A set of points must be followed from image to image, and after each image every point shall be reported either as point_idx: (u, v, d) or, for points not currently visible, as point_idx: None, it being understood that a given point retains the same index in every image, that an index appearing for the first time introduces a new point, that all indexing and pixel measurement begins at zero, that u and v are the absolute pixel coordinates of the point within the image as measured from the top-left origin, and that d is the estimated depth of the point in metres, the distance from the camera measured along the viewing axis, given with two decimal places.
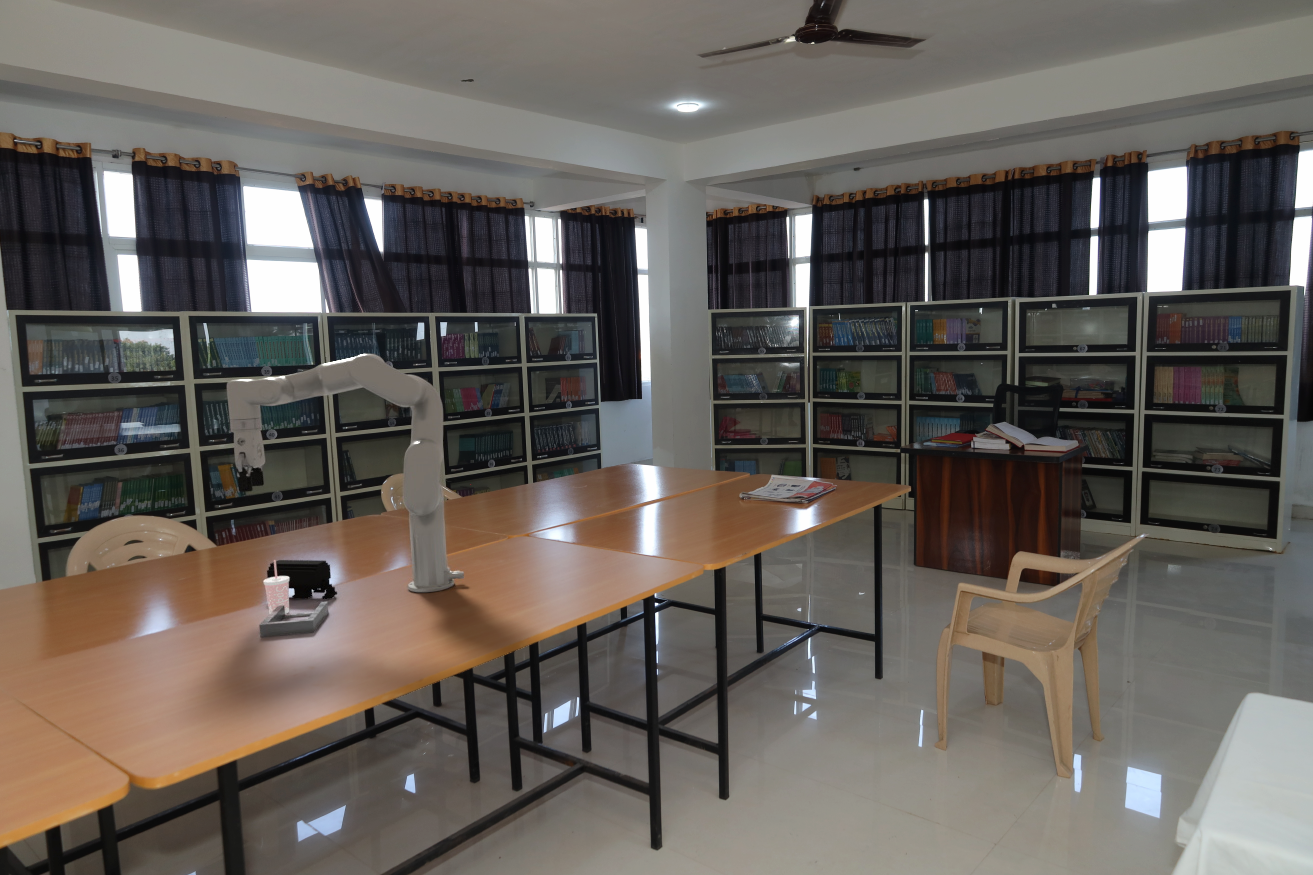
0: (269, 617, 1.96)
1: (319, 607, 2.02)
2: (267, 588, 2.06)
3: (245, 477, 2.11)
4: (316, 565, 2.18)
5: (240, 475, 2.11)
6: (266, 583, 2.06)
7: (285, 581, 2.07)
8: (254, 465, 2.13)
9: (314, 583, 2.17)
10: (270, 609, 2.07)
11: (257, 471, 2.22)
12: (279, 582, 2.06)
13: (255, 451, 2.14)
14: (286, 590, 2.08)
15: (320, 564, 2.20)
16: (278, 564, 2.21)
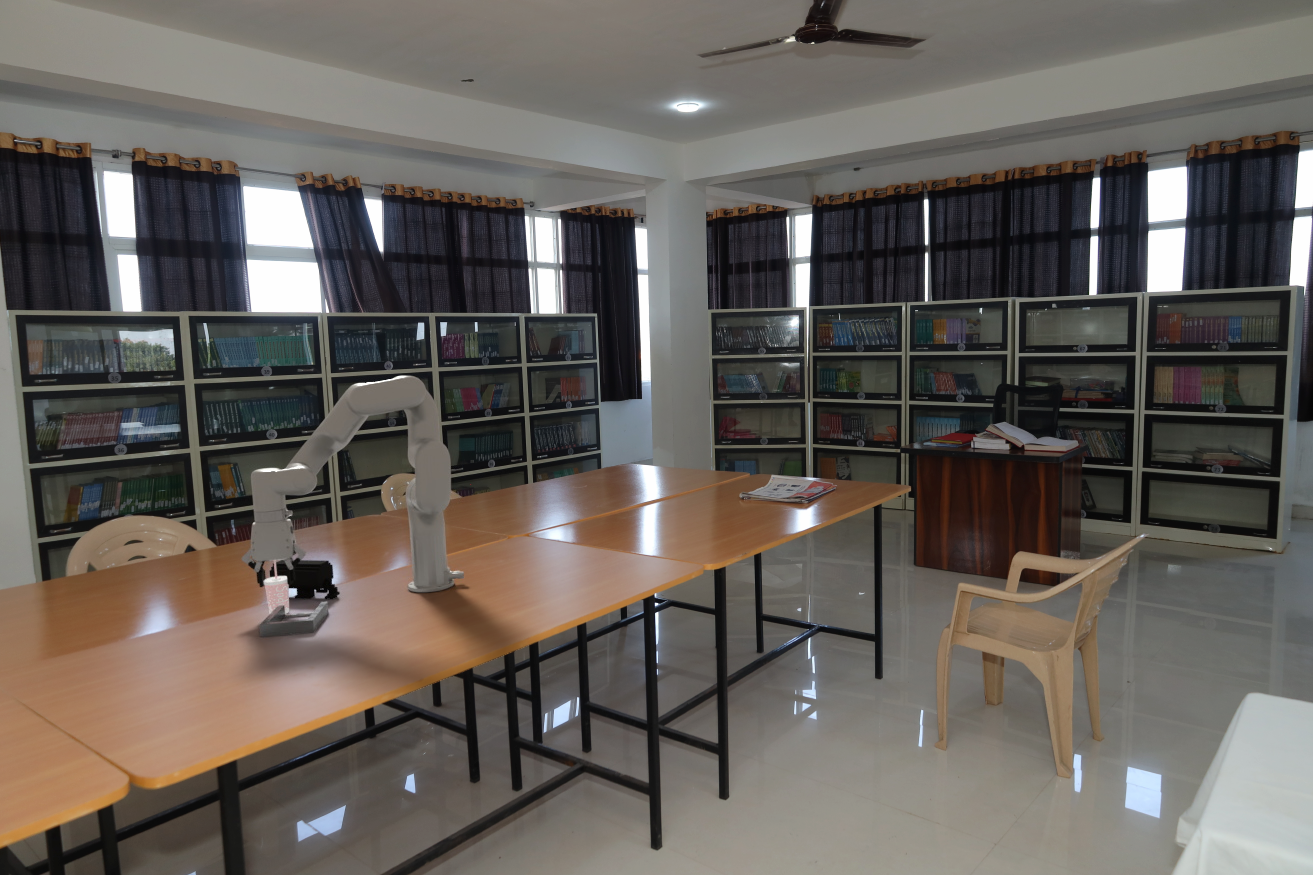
0: (269, 617, 1.96)
1: (319, 607, 2.02)
2: (267, 588, 2.06)
3: None
4: (319, 565, 2.18)
5: (294, 566, 2.08)
6: (266, 583, 2.06)
7: (285, 581, 2.07)
8: None
9: (317, 583, 2.17)
10: (270, 609, 2.07)
11: (263, 570, 2.08)
12: (279, 582, 2.06)
13: None
14: (286, 590, 2.08)
15: (323, 564, 2.19)
16: (280, 564, 2.21)
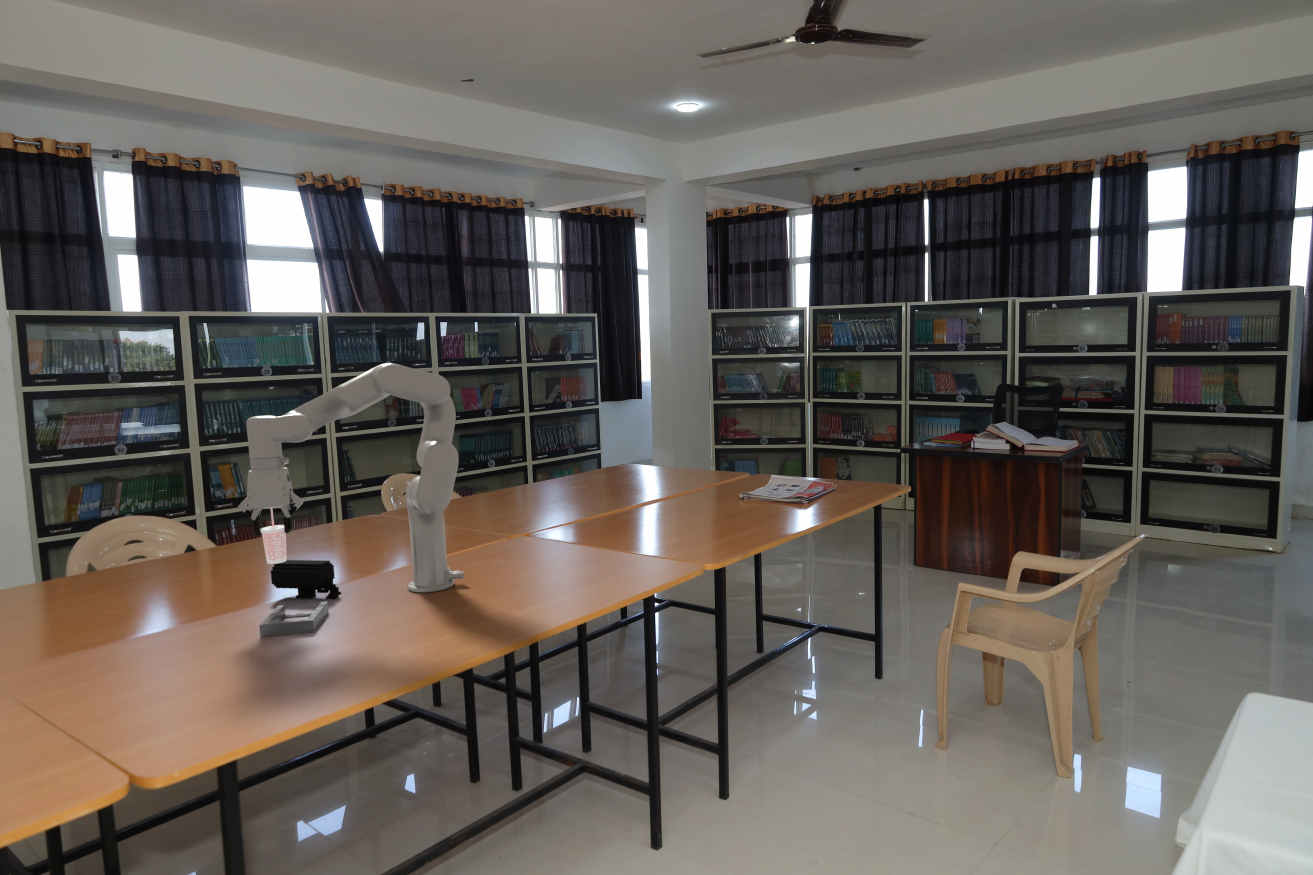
0: (269, 617, 1.96)
1: (319, 607, 2.02)
2: (264, 536, 2.05)
3: None
4: (320, 565, 2.18)
5: (291, 514, 2.07)
6: (263, 531, 2.04)
7: (282, 529, 2.06)
8: None
9: (318, 583, 2.17)
10: (267, 557, 2.06)
11: (259, 518, 2.07)
12: (276, 530, 2.05)
13: None
14: (283, 538, 2.07)
15: (324, 564, 2.19)
16: (281, 564, 2.21)
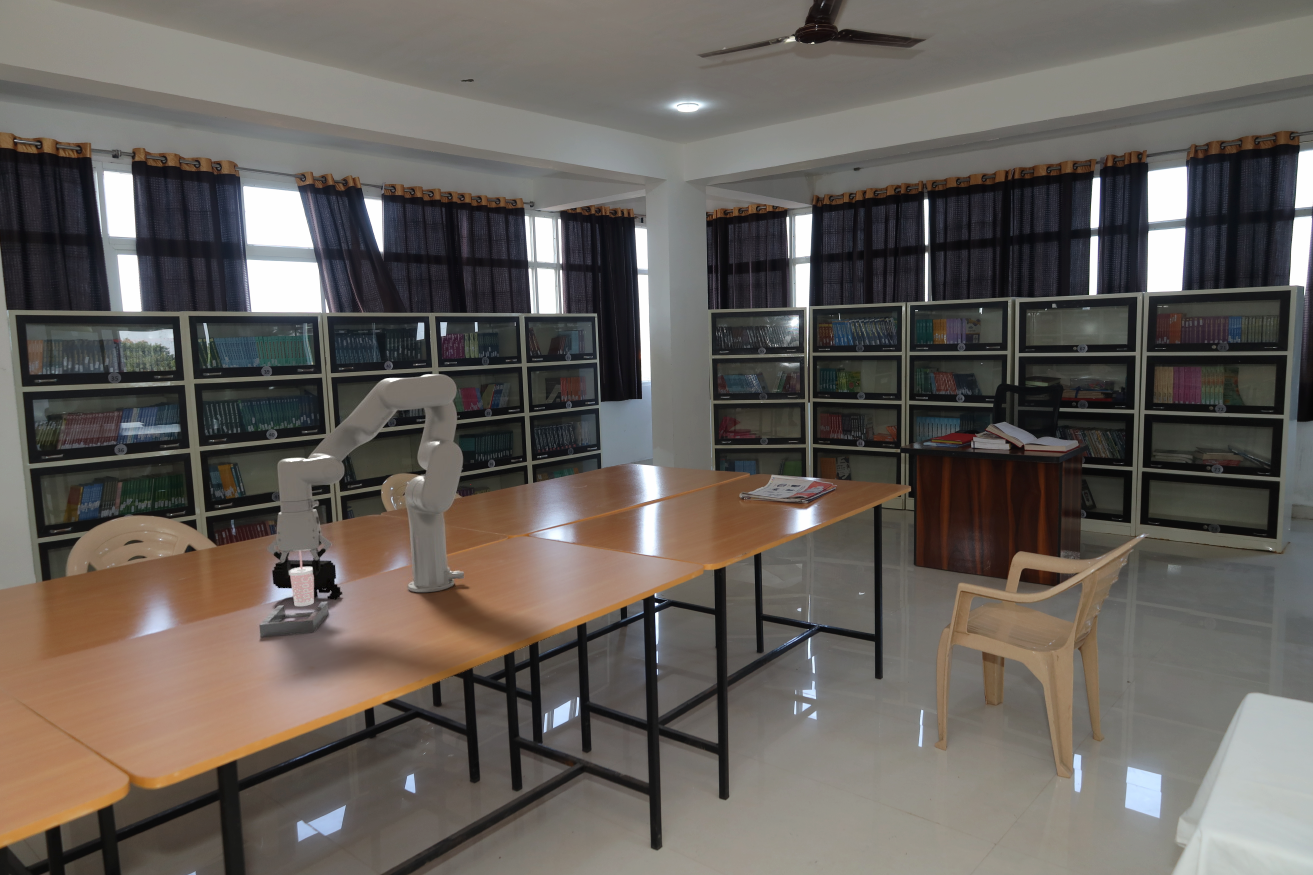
0: (269, 617, 1.96)
1: (319, 607, 2.02)
2: (292, 578, 2.05)
3: (318, 559, 2.08)
4: (321, 565, 2.18)
5: None
6: (291, 573, 2.05)
7: (310, 572, 2.06)
8: None
9: (319, 583, 2.17)
10: (295, 600, 2.06)
11: (288, 560, 2.07)
12: (304, 572, 2.05)
13: None
14: (311, 581, 2.07)
15: (325, 564, 2.19)
16: None
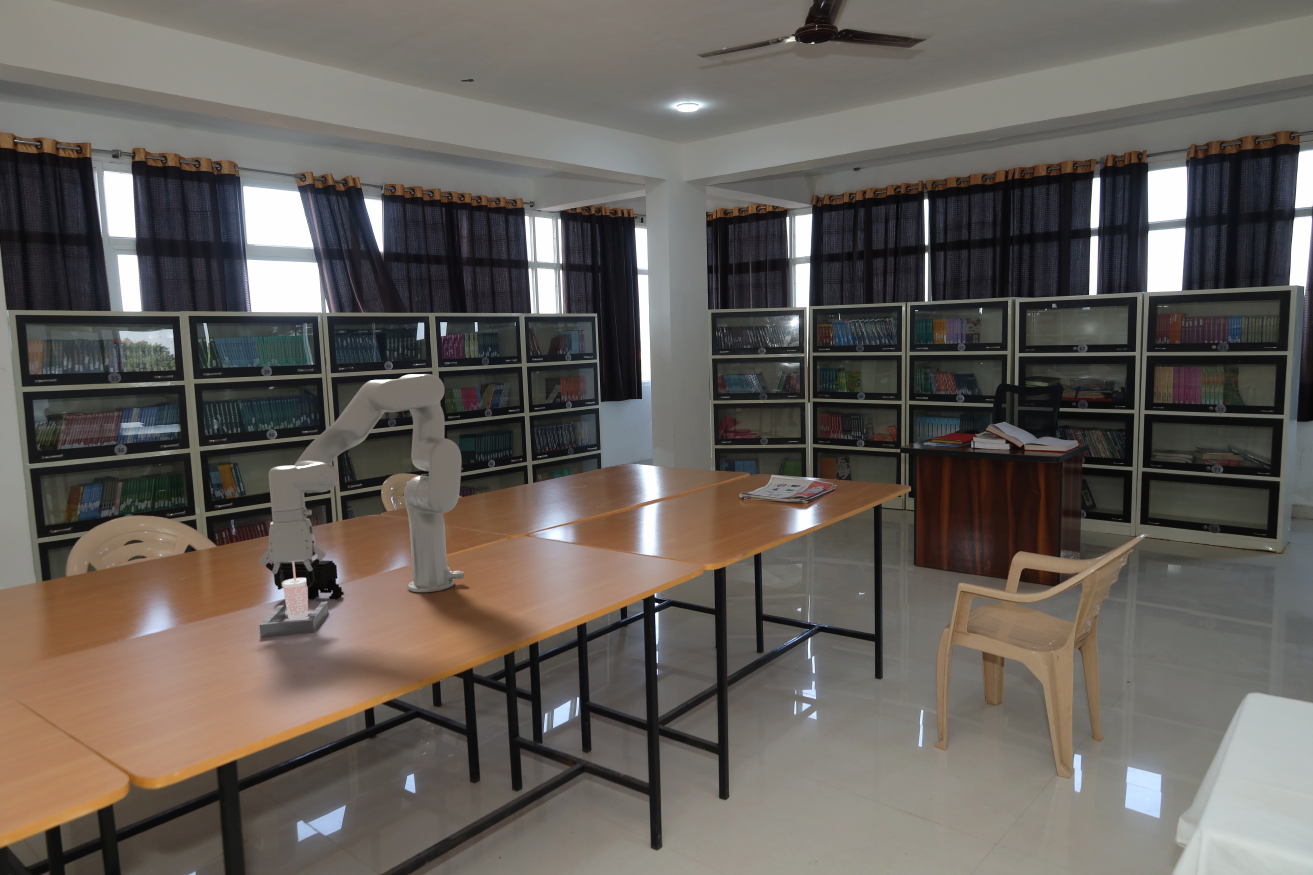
0: (269, 617, 1.96)
1: (319, 607, 2.02)
2: (285, 590, 1.98)
3: (312, 570, 2.01)
4: (323, 565, 2.18)
5: None
6: (284, 585, 1.98)
7: (304, 583, 1.99)
8: None
9: (321, 583, 2.17)
10: (289, 612, 1.99)
11: (281, 571, 2.00)
12: (298, 584, 1.98)
13: None
14: (305, 592, 2.00)
15: (327, 564, 2.19)
16: (284, 564, 2.20)
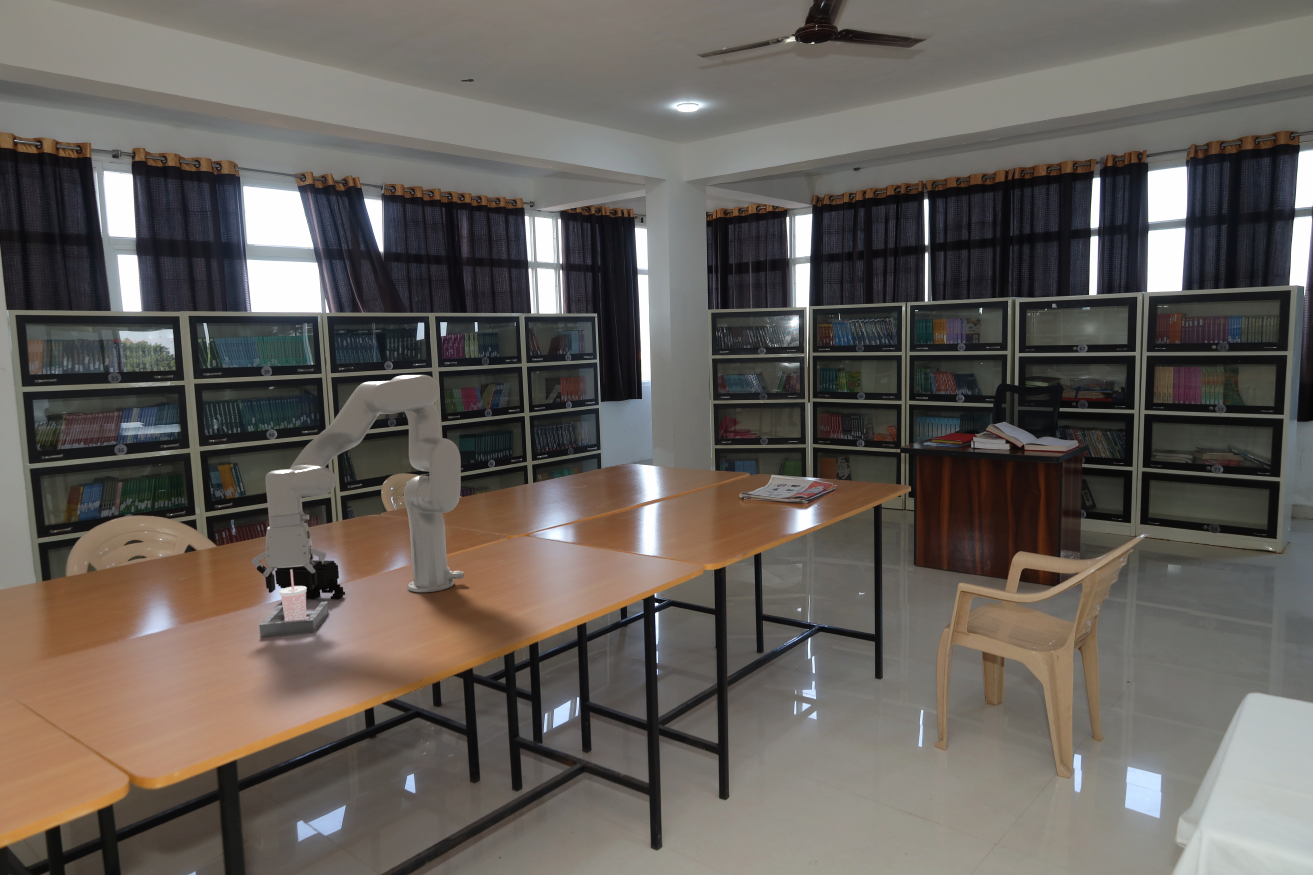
0: (269, 617, 1.96)
1: (319, 607, 2.02)
2: (283, 599, 1.96)
3: None
4: (324, 565, 2.18)
5: None
6: (282, 594, 1.95)
7: (302, 592, 1.97)
8: None
9: (322, 583, 2.17)
10: None
11: (272, 574, 1.97)
12: (296, 593, 1.96)
13: None
14: (303, 601, 1.98)
15: (328, 564, 2.19)
16: None
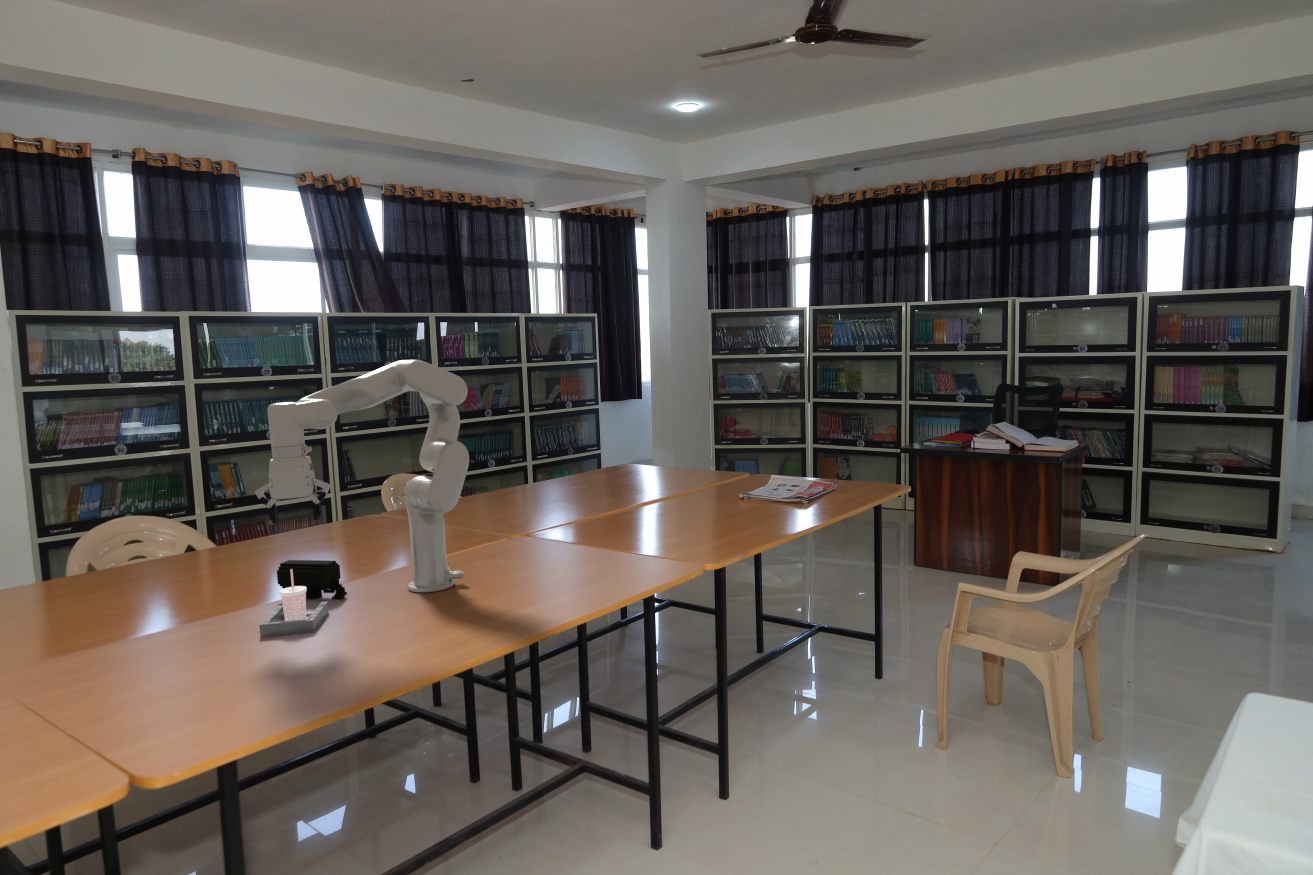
0: (269, 617, 1.96)
1: (319, 607, 2.02)
2: (283, 599, 1.96)
3: None
4: (326, 565, 2.18)
5: (320, 501, 2.00)
6: (282, 594, 1.95)
7: (302, 591, 1.97)
8: None
9: (324, 583, 2.17)
10: None
11: (275, 506, 1.99)
12: (296, 593, 1.96)
13: None
14: (303, 601, 1.98)
15: (330, 564, 2.19)
16: (287, 564, 2.20)
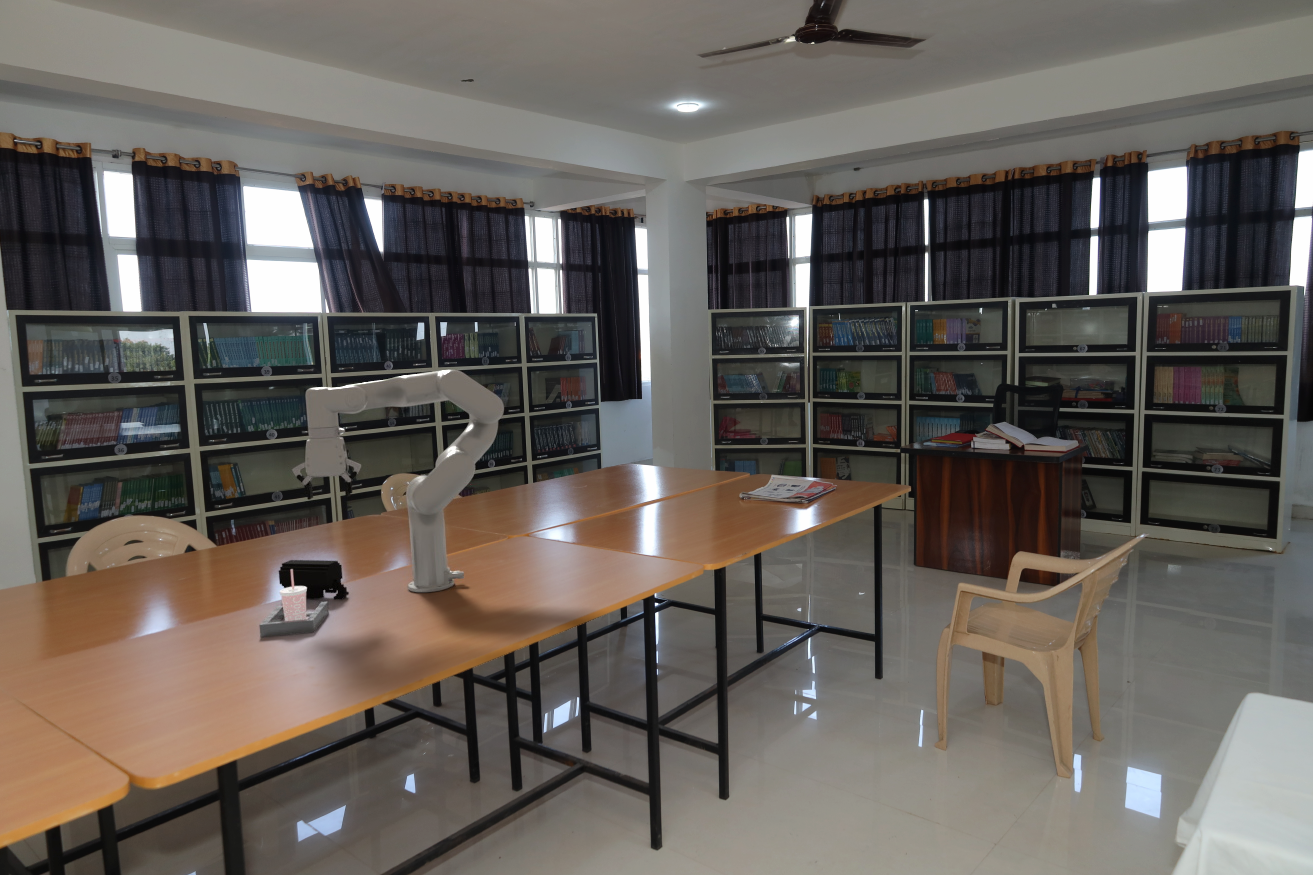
0: (269, 617, 1.96)
1: (319, 607, 2.02)
2: (283, 599, 1.96)
3: (351, 481, 2.16)
4: (328, 565, 2.18)
5: (352, 479, 2.15)
6: (282, 594, 1.95)
7: (302, 592, 1.97)
8: None
9: (326, 583, 2.17)
10: None
11: (310, 483, 2.15)
12: (296, 593, 1.96)
13: None
14: (303, 601, 1.98)
15: (332, 564, 2.19)
16: (289, 564, 2.20)
